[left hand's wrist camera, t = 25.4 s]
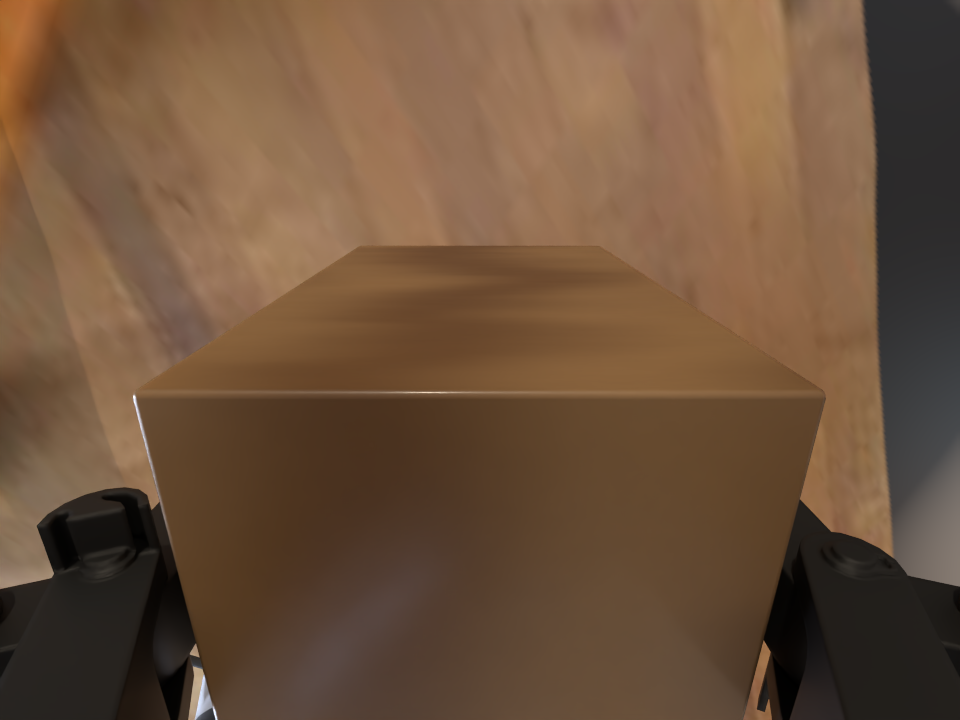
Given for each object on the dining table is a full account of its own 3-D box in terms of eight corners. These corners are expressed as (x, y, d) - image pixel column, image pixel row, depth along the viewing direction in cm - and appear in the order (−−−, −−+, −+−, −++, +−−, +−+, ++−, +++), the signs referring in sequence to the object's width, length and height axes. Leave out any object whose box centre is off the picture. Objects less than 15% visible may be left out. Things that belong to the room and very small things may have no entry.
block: (601, 245, 16) (832, 391, 5) (583, 466, 18) (713, 843, 8) (358, 245, 16) (126, 391, 5) (376, 466, 18) (244, 843, 8)
